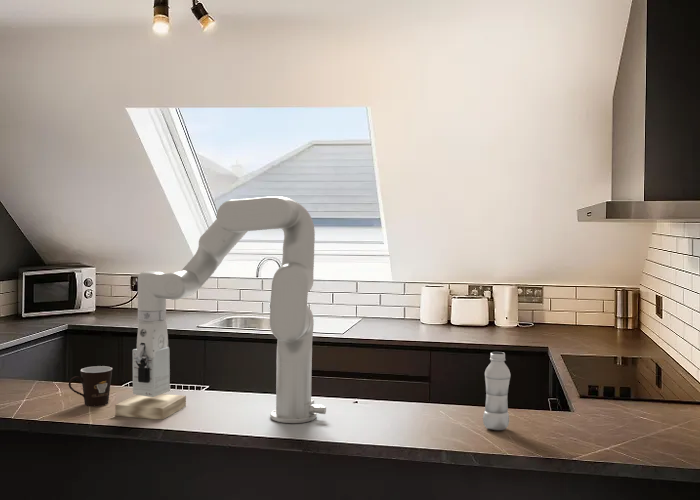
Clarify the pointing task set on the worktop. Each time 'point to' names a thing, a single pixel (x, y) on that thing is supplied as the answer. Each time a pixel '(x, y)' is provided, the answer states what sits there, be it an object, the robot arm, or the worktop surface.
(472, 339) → the worktop surface
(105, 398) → the coffee mug
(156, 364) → the supplement box
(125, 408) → the block
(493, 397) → the plastic bottle
